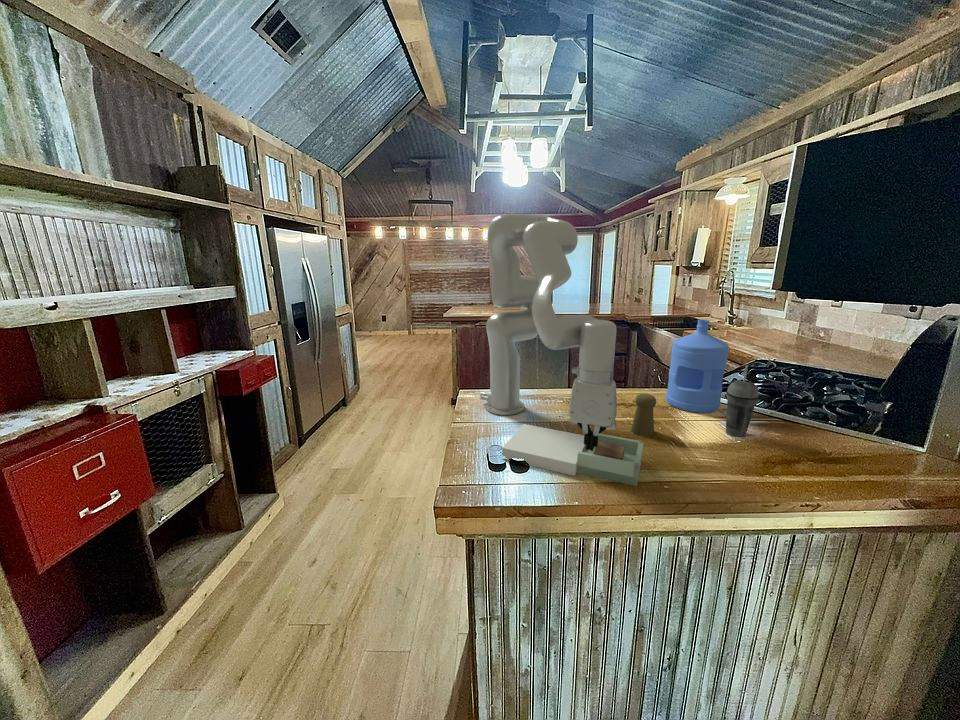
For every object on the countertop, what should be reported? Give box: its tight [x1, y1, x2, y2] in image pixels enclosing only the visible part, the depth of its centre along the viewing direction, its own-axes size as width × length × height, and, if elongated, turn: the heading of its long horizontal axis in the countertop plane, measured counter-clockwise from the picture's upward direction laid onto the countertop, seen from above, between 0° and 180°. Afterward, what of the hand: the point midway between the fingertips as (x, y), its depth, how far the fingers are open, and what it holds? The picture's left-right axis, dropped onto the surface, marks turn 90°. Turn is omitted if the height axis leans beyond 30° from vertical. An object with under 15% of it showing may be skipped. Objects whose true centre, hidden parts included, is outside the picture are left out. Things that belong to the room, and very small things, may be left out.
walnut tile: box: [594, 441, 625, 460], centre depth 89 cm, size 6×6×2 cm
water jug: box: [665, 319, 730, 414], centre depth 121 cm, size 16×16×28 cm
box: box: [576, 433, 645, 487], centre depth 89 cm, size 13×12×5 cm
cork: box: [630, 393, 657, 438], centre depth 105 cm, size 6×6×11 cm
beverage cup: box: [725, 364, 760, 439], centre depth 101 cm, size 7×7×20 cm
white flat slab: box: [501, 423, 586, 476], centre depth 96 cm, size 18×15×3 cm
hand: (590, 447), depth 90 cm, fingers closed
